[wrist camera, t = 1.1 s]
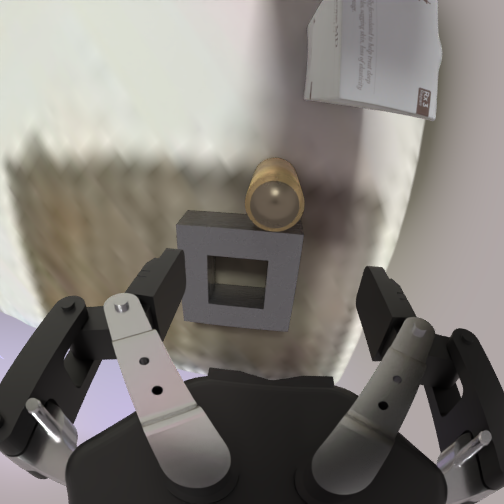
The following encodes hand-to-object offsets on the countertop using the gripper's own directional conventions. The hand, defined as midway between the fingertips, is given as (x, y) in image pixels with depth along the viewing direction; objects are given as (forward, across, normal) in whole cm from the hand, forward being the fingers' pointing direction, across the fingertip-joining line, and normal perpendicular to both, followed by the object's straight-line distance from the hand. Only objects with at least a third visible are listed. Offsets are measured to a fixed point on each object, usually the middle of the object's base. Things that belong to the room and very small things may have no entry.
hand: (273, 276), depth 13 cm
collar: (+18, +3, +10) cm, 21 cm away
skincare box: (+18, -5, -12) cm, 22 cm away
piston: (+18, 0, 0) cm, 18 cm away
